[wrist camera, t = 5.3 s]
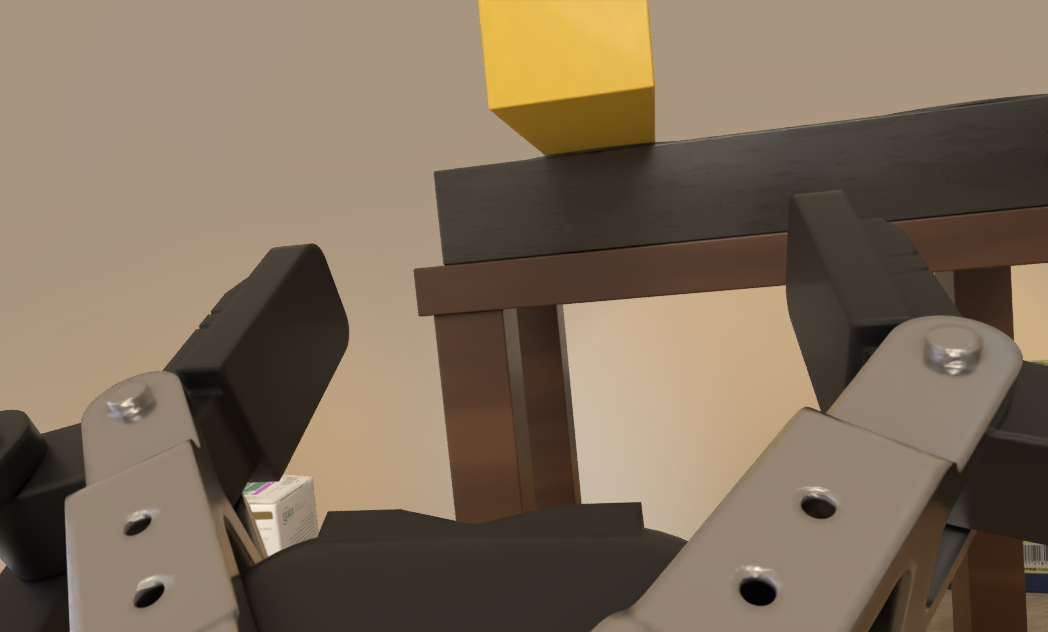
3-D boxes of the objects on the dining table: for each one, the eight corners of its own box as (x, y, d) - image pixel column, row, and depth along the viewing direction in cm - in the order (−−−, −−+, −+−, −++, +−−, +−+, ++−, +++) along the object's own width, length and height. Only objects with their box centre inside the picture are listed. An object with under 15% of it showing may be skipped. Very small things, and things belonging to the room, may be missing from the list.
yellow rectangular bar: (655, 87, 19) (645, -31, 19) (488, 110, 20) (477, -3, 20) (655, 179, 45) (651, 130, 45) (584, 187, 46) (579, 139, 46)
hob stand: (1272, 952, 27) (1255, 40, 24) (481, 897, 32) (400, 151, 30) (1011, 653, 46) (986, 132, 44) (547, 651, 52) (501, 189, 49)
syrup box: (260, 669, 53) (235, 476, 52) (337, 667, 52) (313, 471, 51) (218, 718, 48) (188, 503, 46) (303, 718, 47) (275, 499, 46)
